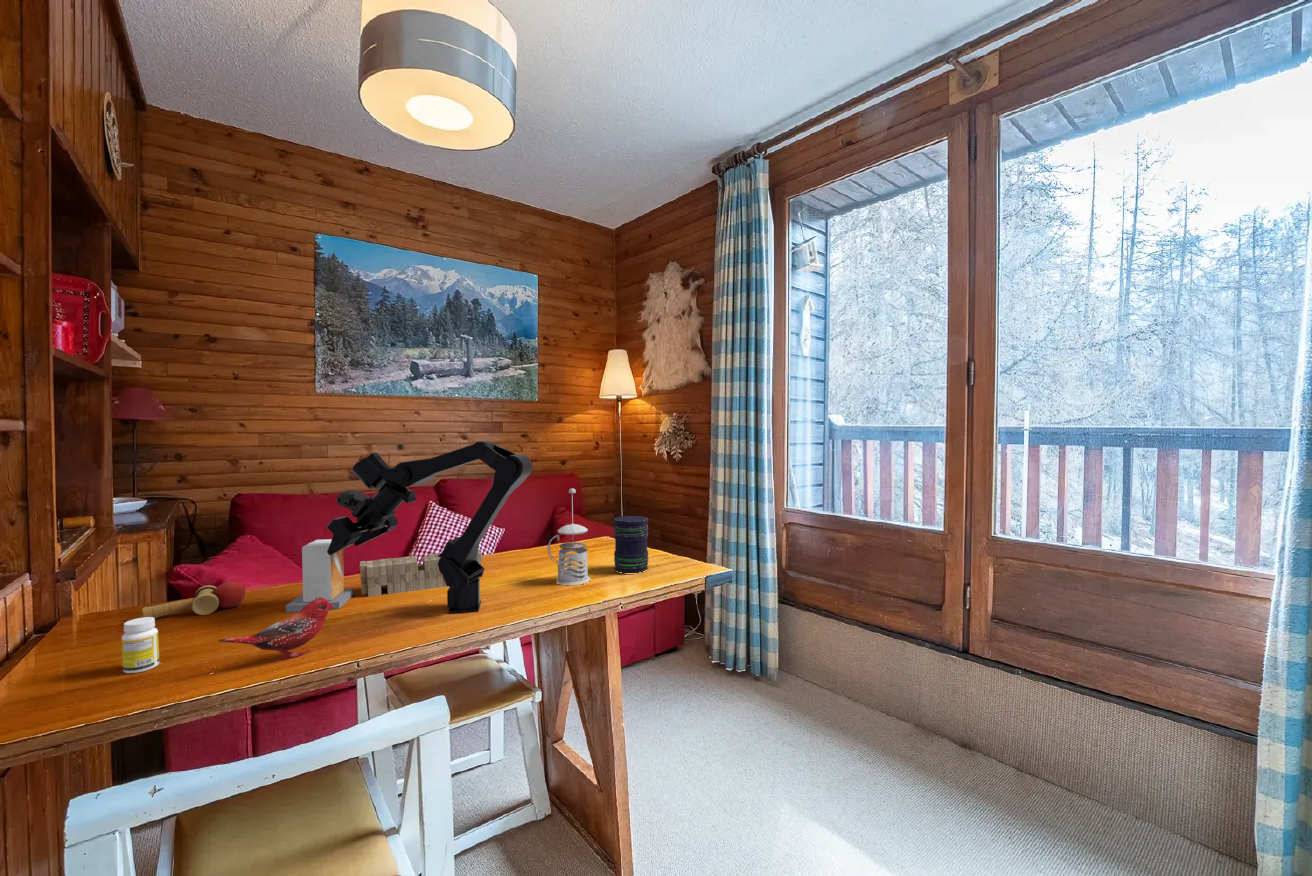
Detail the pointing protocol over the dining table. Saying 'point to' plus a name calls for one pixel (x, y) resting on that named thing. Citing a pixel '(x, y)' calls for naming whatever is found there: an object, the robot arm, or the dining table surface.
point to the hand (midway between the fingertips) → (342, 549)
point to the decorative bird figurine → (290, 630)
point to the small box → (321, 571)
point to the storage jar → (631, 544)
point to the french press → (571, 555)
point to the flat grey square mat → (336, 602)
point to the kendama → (202, 600)
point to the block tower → (402, 574)
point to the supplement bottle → (140, 645)
